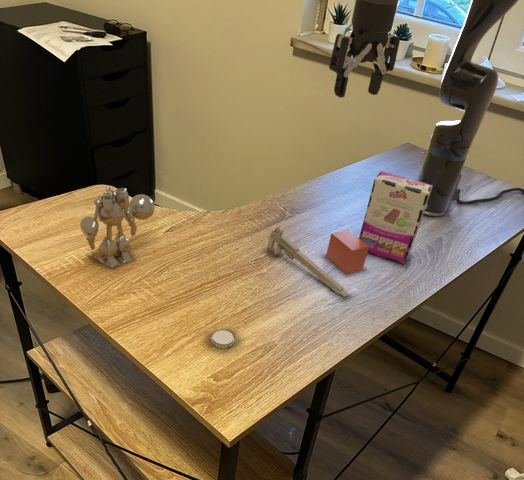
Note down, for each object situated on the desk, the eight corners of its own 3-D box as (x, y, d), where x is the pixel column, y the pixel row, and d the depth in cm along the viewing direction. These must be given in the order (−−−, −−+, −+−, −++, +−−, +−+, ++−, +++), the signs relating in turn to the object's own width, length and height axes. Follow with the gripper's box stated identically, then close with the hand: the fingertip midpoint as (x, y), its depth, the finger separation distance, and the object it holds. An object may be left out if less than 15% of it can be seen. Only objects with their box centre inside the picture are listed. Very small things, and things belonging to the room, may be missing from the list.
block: (341, 252, 114) (347, 229, 110) (362, 269, 110) (369, 246, 106) (325, 256, 112) (331, 233, 108) (346, 274, 108) (352, 250, 104)
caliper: (266, 251, 111) (270, 224, 106) (270, 249, 111) (274, 223, 107) (344, 298, 101) (351, 271, 97) (347, 296, 102) (355, 269, 98)
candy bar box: (409, 254, 116) (434, 184, 105) (404, 265, 113) (430, 194, 102) (361, 239, 119) (380, 169, 108) (354, 249, 115) (374, 177, 104)
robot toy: (144, 237, 109) (142, 167, 99) (162, 251, 106) (161, 180, 96) (79, 259, 101) (69, 185, 90) (96, 275, 98) (88, 200, 88)
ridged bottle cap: (205, 338, 88) (206, 335, 88) (223, 329, 90) (224, 326, 90) (221, 351, 86) (221, 348, 86) (239, 341, 89) (240, 338, 88)
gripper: (360, 2, 88) (339, 104, 99) (421, 3, 94) (395, 99, 105) (333, -8, 92) (316, 90, 103) (393, -6, 99) (371, 86, 109)
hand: (356, 95), depth 104 cm, fingers open, 8 cm apart
